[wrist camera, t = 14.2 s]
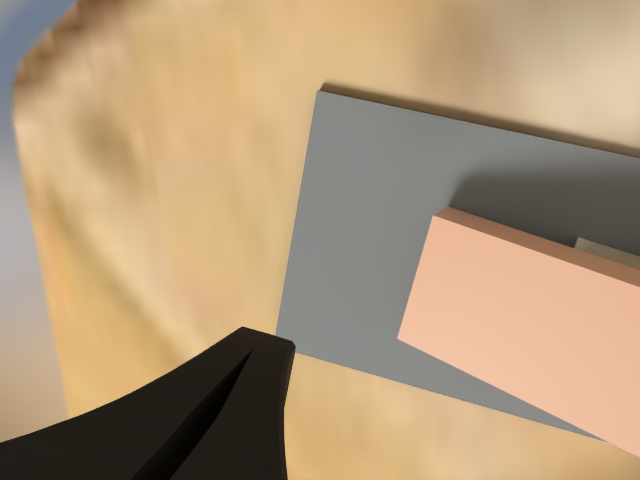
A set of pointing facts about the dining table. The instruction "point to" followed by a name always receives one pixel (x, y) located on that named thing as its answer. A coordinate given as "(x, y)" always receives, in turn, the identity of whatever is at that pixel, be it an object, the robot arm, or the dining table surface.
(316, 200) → the slate runway mat
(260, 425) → the robot arm
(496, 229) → the terracotta domino
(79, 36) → the dining table surface
